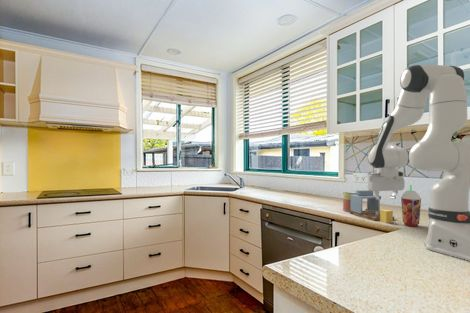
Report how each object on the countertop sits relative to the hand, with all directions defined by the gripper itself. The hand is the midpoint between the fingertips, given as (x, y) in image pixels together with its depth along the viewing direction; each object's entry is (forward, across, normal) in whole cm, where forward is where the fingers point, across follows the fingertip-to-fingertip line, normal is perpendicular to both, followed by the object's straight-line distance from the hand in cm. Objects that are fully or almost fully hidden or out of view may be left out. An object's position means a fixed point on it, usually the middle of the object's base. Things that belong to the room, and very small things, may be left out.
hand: (385, 199), depth 140 cm
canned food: (+12, +3, +29) cm, 32 cm away
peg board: (+12, +2, +12) cm, 17 cm away
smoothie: (+12, +6, -10) cm, 16 cm away
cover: (+10, +2, +17) cm, 20 cm away
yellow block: (+12, 0, -1) cm, 12 cm away
